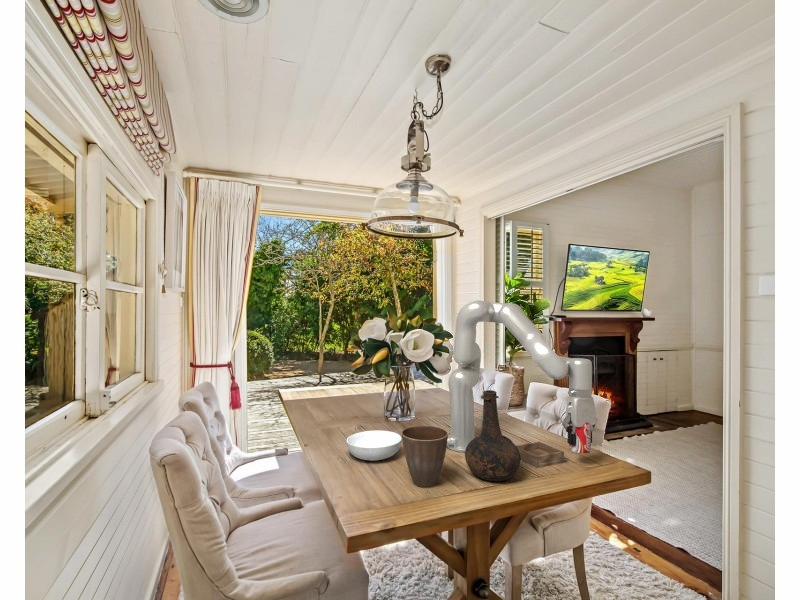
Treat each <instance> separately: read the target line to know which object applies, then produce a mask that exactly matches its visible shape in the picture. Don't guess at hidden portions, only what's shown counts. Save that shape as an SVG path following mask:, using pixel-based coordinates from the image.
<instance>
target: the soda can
mask: <svg viewBox="0 0 800 600" xmlns="http://www.w3.org/2000/svg"><path fill="white" fill-rule="evenodd" d="M586 421H587V420H586ZM571 424H572V422H571ZM572 428H573V426H571V429H572ZM574 434H576V445H575V446H573V445H571V444H568V445H569V450H570V451H571V452H573V453H574V454H576V455H582V456H583V455H588V454H590V453H591V448H592V447H591V446H592V443H591V425H590V424H589V423H588V422H586V423H584V424H583V426H582V427H576V431H575V433H574Z"/></svg>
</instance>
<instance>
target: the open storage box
mask: <svg viewBox="0 0 800 600" xmlns="http://www.w3.org/2000/svg"><path fill="white" fill-rule="evenodd" d="M515 445H516V444H515ZM516 447H517V448H518V450H519V453H520V457H521V461H522V462H524V463H525V464H528V465H529V466H532V467H534V468H536V469H539V468H545V467H549V466H554V465H555V466H556V465H559V464H563V463H568V459H567V458H565V451H564V450H560V449H558V448H556V447H553V446H551V445H549V444H546V443H544V442H541V441H534V442H529V443H528V442H527V443H523V444H517V445H516Z"/></svg>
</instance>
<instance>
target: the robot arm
mask: <svg viewBox="0 0 800 600" xmlns="http://www.w3.org/2000/svg"><path fill="white" fill-rule="evenodd" d="M483 322H486V323H487V322H488V323H497V324H503V325H504V327H505V328H507V330H508V331H509V332H510V333H511V335H513V336H514V337H515V339H516V340H517V341H518V342H519V344H520V345H521V346H522V347H523V349H524V350H525V351H526V352H527V353H528V354H529V356H530V357H531V359H532V360H533V361H534V362H535V364H536V365H538V367H539V368H540V369H541V370H542V371H543V372H544V373H545V375H547V376H548V377H549V378H551V379H553V380H561V379H563V378H565V377H568V391H567V393H568V396H567V400H566V408H565V418H564V419H563V420H562V421H561V425H562V427H563V428H564V430H565V431H566V433H567V443H568V445H569V444H571V445H573V446H575V445H576V434H574V433H575V431H576V427H582V426H583V424H584V423H586V422H588V423H589V424H590V425H591V444H592V443H593V432H594V428H595V427H596V424H597V423H598V417H597V416H596V415H597V414H596V406H595V405H596V404H595V400H594V397H593V395H592V393H593V363H592V360H591V359H588V358H584V357H583V358H582V357H580V358H579V357H572V358H571V357H567V356H561V355H558V354H557V353H556V352H555V351H554V350H553V349H552V347H551V346H550V345H549V344H548V343H547V341H546V339H545V338H544V336H543V333H542V332H541V330H540V329H539V328H538V327H537V326H536V324H535V323H534V322H532V321H531V319H530V318H529V317H528V316H527V315H526V314H525V312H524V311H523V309H522V307H521V306H520V305H519V304H517V303H511V302H507V303H506V302H494V301H487V300H486V301H485V300H474V301H470V302H468V303H466V304H465V305H463V306H462V307H461V309H460V310H459V311H458V313H457V316H456V319H455V329H454V330H455V331H454V338H453V339H454V340H453V341H454V342H453V350H452V351H453V352H452V357H453V360H454V361H455V363H456V364H458V365H457V367H458V368H456V369H454V370H453V371H452V372H451V373H450V375H449V376H448V384H447V385H448V392H449V405H450V407H449V408H450V412H449V413H450V414H449V416H450V418H449V420H450V434H448V440H447V447H446V448H448V449H449V450H450V451H451V450H452V451H454V452H458V453H459V452H460V453H465V450H466V447H467V445H468V444H469V442H470V441H471V440H473V439H474V438H475V400H474V399H475V398H474V391H473V388H475V386H477V384H478V383H479V381H480V374H481V363H482V361H481V359H482V350H481V347H480V346H479V344H478V343H477V341H476V338H477V325H478V323H483ZM586 420H587V421H586ZM571 422H572V424H571ZM571 426H573V428H572V429H571Z"/></svg>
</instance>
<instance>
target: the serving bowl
mask: <svg viewBox="0 0 800 600" xmlns="http://www.w3.org/2000/svg"><path fill="white" fill-rule="evenodd" d="M402 441H403V440H402V435H400V434H399V433H397V432H394V431H390V430H365V431H360V432H356V433H354V434H351V435H349V436H348V437H347V438H346V447H347V449H348V451H349V453H350V454H351V455H352V456H353V457H355V458H357V459H359V460H365V461H380V460H385V459H389V458H391V457H393V456H394V455H395V454H397V452H398V451H399V450H400V448H401V445H402Z"/></svg>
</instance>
